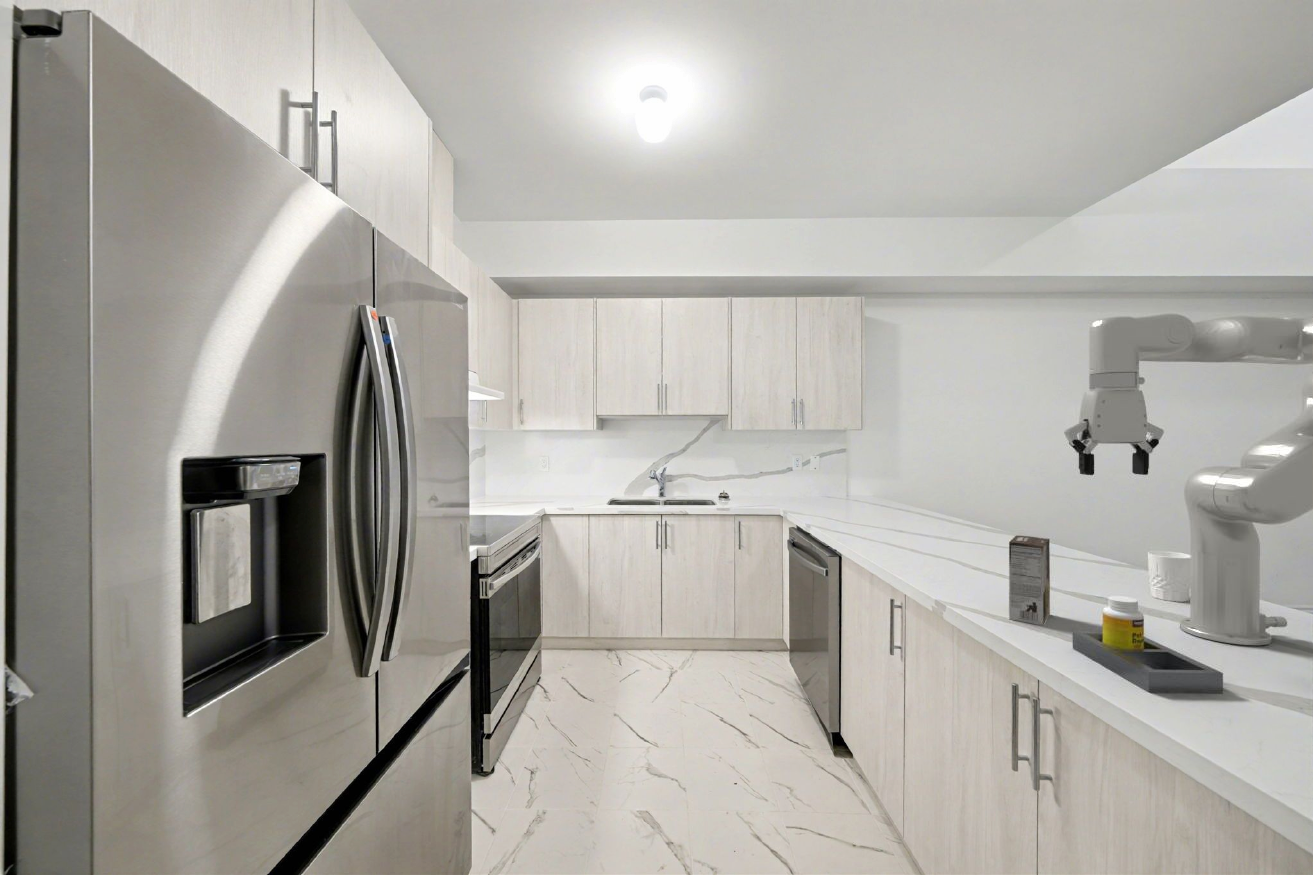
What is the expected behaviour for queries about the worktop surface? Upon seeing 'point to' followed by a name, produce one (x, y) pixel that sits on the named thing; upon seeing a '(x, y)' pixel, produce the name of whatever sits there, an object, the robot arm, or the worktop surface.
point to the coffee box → (1029, 579)
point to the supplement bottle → (1123, 624)
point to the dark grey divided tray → (1151, 666)
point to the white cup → (1169, 575)
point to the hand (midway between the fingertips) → (1113, 474)
